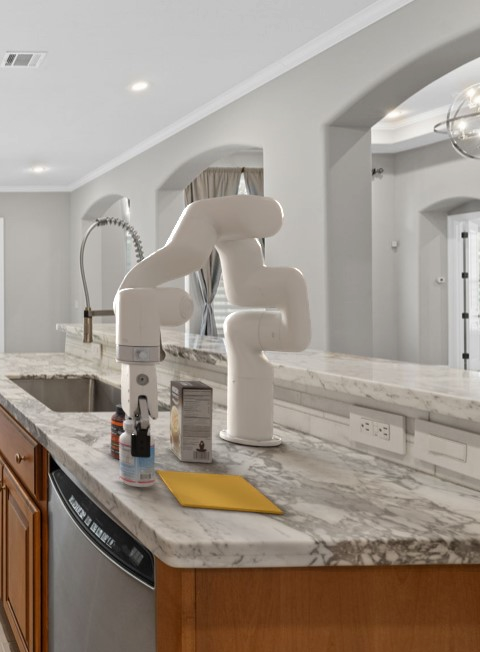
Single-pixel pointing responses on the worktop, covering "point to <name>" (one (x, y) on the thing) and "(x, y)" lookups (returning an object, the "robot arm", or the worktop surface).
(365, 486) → the worktop surface
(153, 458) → the pill bottle
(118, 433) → the supplement bottle
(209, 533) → the worktop surface
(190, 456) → the coffee box
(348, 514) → the worktop surface
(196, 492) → the cloth
